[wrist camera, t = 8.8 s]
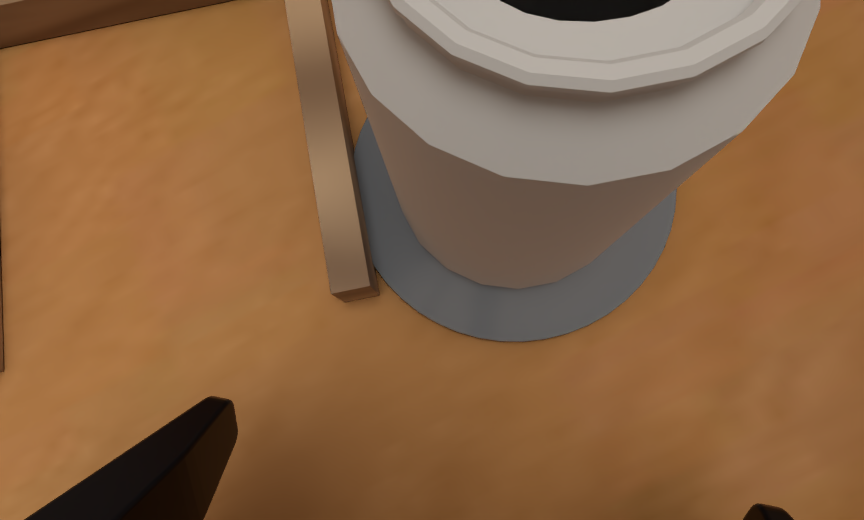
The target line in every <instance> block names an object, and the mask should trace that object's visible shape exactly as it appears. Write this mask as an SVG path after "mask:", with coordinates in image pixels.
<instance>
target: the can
mask: <svg viewBox="0 0 864 520" xmlns="http://www.w3.org/2000/svg"><path fill="white" fill-rule="evenodd" d="M332 5H333V11H334V17H335V24H336V30H337V35H338V37H339V40H340V43H341V45H342V48H343V51H344V54H345V56H346V59H347V62H348V65H349V67H350V70H351V73H352V75H353V78H354V81H355V84H356V86H357V89H358V92H359V95H360V97H361V100H362V103H363V105H364V108H365V111H366V114H367V116H368V119H369V122H370V125H371V127H372V130H373V133H374V135H375V138H376V141H377V144H378V146H379V149H380V152H381V155H382V157H383V160H384V163H385V165H386V168H387V171H388V174H389V176H390V179H391V182H392V185H393V187H394V190H395V193H396V196H397V198H398V201H399V204H400V206H401V209H402V212H403V214H404V216H405V218H406V219H407V221H408V223H409V225H410V227H411V228H412V230H413V232H414V234H415V236H416V238H417V239H418V241H419V243H420V244H421V245H422V246H423V247H424V248H425V249H426V250H427V251H428V252H429V253H430V254H432V255H433V256H434V257H435V258H436V259H437V260H438V261H439V262H440V263H441V264H442V265H443V266H445V267H446V268H447V269H449V270H451V271H453V272H455V273H458V274H460V275H462V276H464V277H466V278H468V279H471V280H473V281H475V282H477V283H479V284H483V285H491V286H499V287H507V288H515V289H521V288H527V287H532V286H537V285H543V284H548V283H553V282H557V281H559V280H561V279H563V278H564V277H566V276H568V275H570V274H572V273H574V272H575V271H577V270H579V269H581V268H583V267H584V266H586V265H588V264H590V263H591V262H592V261H593V260H594V259H595V258H597V257H598V256H599V255H600V254H601V253H602V252H604V251H605V250H606V249H607V248H608V247H609V246H610V245H612V244H613V243H614V242H615V241H616V240H617V239H619V238H620V237H621V236H622V235H623V234H624V233H625V232H627V231H628V230H629V229H630V228H631V227H632V226H634V225H635V224H636V223H637V222H638V221H639V220H640V219H642V218H643V217H644V216H645V215H646V214H647V213H649V212H650V211H651V210H652V209H653V208H654V207H655V206H657V205H658V204H659V203H660V202H661V201H662V200H664V199H665V198H666V197H667V196H668V195H669V194H670V193H672V192H673V191H674V190H675V189H676V188H677V187H679V186H680V185H681V184H682V183H683V182H684V181H685V180H687V179H688V178H689V177H690V176H691V175H692V174H694V173H695V172H696V171H697V170H698V169H699V168H700V167H702V166H703V165H704V164H705V163H706V162H707V161H709V160H710V159H711V158H712V157H713V156H714V155H715V154H717V153H718V152H719V151H720V150H721V149H722V148H724V147H725V146H726V145H727V144H728V143H729V142H731V141H732V140H733V139H734V138H735V137H736V136H737V135H739V134H740V133H741V132H742V131H743V130H744V129H745V128H746V127H747V126H748V125H749V123H750V122H751V121H752V120H753V119H754V118H755V117H756V116H757V115H758V114H759V112H760V111H761V110H762V109H763V108H764V107H765V106H766V105H767V104H768V103H769V101H770V100H771V99H772V98H773V97H774V96H775V95H776V94H777V93H778V92H779V90H780V89H781V88H782V87H783V86H784V85H785V84H786V83H787V82H788V81H789V79H790V78H791V77H792V76H793V75H794V74H795V71H796V68H797V66H798V63H799V61H800V58H801V56H802V53H803V51H804V48H805V45H806V43H807V40H808V38H809V35H810V33H811V30H812V28H813V25H814V22H815V20H816V17H817V15H818V12H819V10H820V0H332Z"/></svg>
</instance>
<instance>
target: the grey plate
mask: <svg viewBox="0 0 864 520" xmlns="http://www.w3.org/2000/svg"><path fill="white" fill-rule="evenodd" d="M354 161H355V166H356V172H357V178H358V183H359V189H360V195H361V200H362V206H363V212H364V217H365V223H366V229H367V234H368V240H369V246H370V251H371V257H372V263H373V265H374V266H375V268H376V269H377V271H378V272H379V273H380V275H381V276H382V277H383V279H384V280H385V281H386V283H387V284H388V285H389V286H390V287H391V288H392V289H393V290H394V291H395V292H396V293H397V294H398V295H399V297H400V298H401V299H402V300H404V301H405V302H406V303H407V304H409V305H410V306H411V307H412V308H414V309H415V310H416V311H418V312H419V313H420V314H422V315H424V316H425V317H427V318H429V319H430V320H432V321H434V322H435V323H437V324H439V325H442V326H444V327H446V328H449V329H451V330H453V331H455V332H458V333H462V334H465V335H469V336H472V337H476V338H480V339H486V340H493V341H500V342H526V341H535V340H543V339H548V338H552V337H556V336H560V335H564V334H567V333H570V332H572V331H575V330H577V329H580V328H582V327H585V326H587V325H589V324H591V323H593V322H595V321H596V320H598V319H600V318H602V317H603V316H605V315H607V314H609V313H610V312H611V311H613V310H614V309H615V308H616V307H618V306H619V305H620V304H622V303H623V302H624V301H626V300H627V299H628V298H629V297H630V296H631V294H632V293H633V292H634V291H635V290H636V289H637V288H638V287H639V286H640V285H641V284H642V283H643V281H644V280H645V279H646V277H647V276H648V275H649V273H650V272H651V271H652V269H653V268H654V266H655V264H656V262H657V261H658V259H659V257H660V255H661V253H662V251H663V249H664V247H665V244H666V241H667V239H668V236H669V233H670V231H671V227H672V222H673V217H674V212H675V205H676V190H677V188H676V189H675V190H674V191H673V192H672V193H670V194H669V195H668V196H667V197H666V198H665V199H664V200H662V201H661V202H660V203H659V204H658V205H657V206H655V207H654V208H653V209H652V210H651V211H650V212H649V213H647V214H646V215H645V216H644V217H643V218H642V219H640V220H639V221H638V222H637V223H636V224H635V225H634V226H632V227H631V228H630V229H629V230H628V231H627V232H625V233H624V234H623V235H622V236H621V237H620V238H619V239H617V240H616V241H615V242H614V243H613V244H612V245H610V246H609V247H608V248H607V249H606V250H605V251H604V252H602V253H601V254H600V255H599V256H598V257H597V258H595V259H594V260H593V261H592V262H591V263H590V264H588V265H586V266H584V267H583V268H581V269H579V270H577V271H575V272H574V273H572V274H570V275H568V276H566V277H564V278H563V279H561V280H559V281H557V282H553V283H548V284H543V285H537V286H532V287H527V288H521V289H515V288H507V287H499V286H491V285H483V284H479V283H477V282H475V281H473V280H471V279H468V278H466V277H464V276H462V275H460V274H458V273H455V272H453V271H451V270H449V269H447V268H446V267H445V266H443V265H442V264H441V263H440V262H439V261H438V260H437V259H436V258H435V257H434V256H433V255H432V254H430V253H429V252H428V251H427V250H426V249H425V248H424V247H423V246H422V245H421V244H420V243H419V241H418V239H417V238H416V236H415V234H414V232H413V230H412V228H411V227H410V225H409V223H408V221H407V219H406V218H405V216H404V214H403V212H402V209H401V206H400V204H399V201H398V198H397V196H396V193H395V190H394V187H393V185H392V182H391V179H390V176H389V174H388V171H387V168H386V165H385V163H384V160H383V157H382V155H381V152H380V149H379V146H378V144H377V141H376V138H375V135H374V133H373V130H372V127H371V125H370V122H369V119H368V117H367V119H366V121H365V123H364V125H363V127H362V130H361V132H360V135H359V138H358V141H357V144H356V147H355V151H354Z"/></svg>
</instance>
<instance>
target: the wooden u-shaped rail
mask: <svg viewBox="0 0 864 520" xmlns="http://www.w3.org/2000/svg"><path fill="white" fill-rule="evenodd" d="M226 1H231V0H0V48H5V47H9V46H14V45H19V44H24V43H29V42H34V41H38V40H43V39H48V38H53V37H58V36H62V35H67V34H72V33H77V32H82V31H87V30H91V29H96V28H101V27H106V26H111V25H115V24H120V23H125V22H130V21H135V20H140V19H144V18H149V17H154V16H159V15H164V14H169V13H173V12H178V11H183V10H188V9H193V8H197V7H202V6H207V5H212V4H217V3H222V2H226ZM285 6H286V12H287V18H288V25H289V31H290V37H291V44H292V50H293V56H294V63H295V69H296V75H297V82H298V88H299V94H300V101H301V107H302V113H303V120H304V126H305V132H306V139H307V145H308V151H309V158H310V164H311V170H312V177H313V183H314V189H315V196H316V202H317V208H318V215H319V221H320V227H321V234H322V240H323V246H324V253H325V259H326V265H327V272H328V278H329V284H330V291H331V294H332V295H334V296H335V297H337V298H339V299H340V300H342V301H344V302H348V301H353V300H358V299H363V298H368V297H373V296H378V295H380V294H379V289H378V283H377V277H376V272H375V266H374V265H373V263H372V257H371V251H370V246H369V240H368V234H367V229H366V223H365V217H364V212H363V206H362V200H361V195H360V189H359V183H358V178H357V172H356V166H355V161H354V147H353V142H352V136H351V130H350V125H349V119H348V114H347V108H346V102H345V97H344V91H343V85H342V80H341V74H340V68H339V63H338V57H337V51H336V46H335V40H334V34H333V29H332V23H331V18H330V12H329V6H328V1H327V0H285ZM2 371H4V366H3V330H2V294H1V258H0V372H2Z"/></svg>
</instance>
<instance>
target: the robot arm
mask: <svg viewBox="0 0 864 520" xmlns="http://www.w3.org/2000/svg"><path fill="white" fill-rule="evenodd" d="M237 435H238V428H237V422H236V415H235V409H234V404H233V402H232V401H231V400H229V399H225V398H220V397H215V396H210V397H207V398H205V399H204V400H202V401H201V402H199V403H198V404H196V405H195V406H193V407H192V408H190V409H189V410H187V411H186V412H184V413H183V414H181V415H180V416H178V417H177V418H175V419H174V420H172V421H171V422H169V423H168V424H166V425H165V426H163V427H162V428H160V429H159V430H157V431H156V432H154V433H153V434H151V435H150V436H148V437H147V438H145V439H144V440H142V441H141V442H139V443H138V444H136V445H135V446H133V447H132V448H130V449H129V450H127V451H126V452H124V453H123V454H121V455H120V456H118V457H117V458H115V459H114V460H113V461H111V462H110V463H108V464H107V465H105V466H104V467H102V468H101V469H99V470H98V471H96V472H95V473H93V474H92V475H90V476H89V477H87V478H86V479H84V480H83V481H81V482H80V483H78V484H77V485H75V486H74V487H72V488H71V489H69V490H68V491H66V492H65V493H63V494H62V495H60V496H59V497H57V498H56V499H54V500H53V501H51V502H50V503H48V504H47V505H45V506H44V507H42V508H41V509H39V510H38V511H36V512H35V513H33V514H32V515H30V516H29V517H27V518H26V519H24V520H203V519H204V517H205V515H206V513H207V510H208V508H209V506H210V503H211V501H212V498H213V496H214V494H215V491H216V489H217V486H218V484H219V481H220V479H221V477H222V474H223V472H224V469H225V467H226V465H227V462H228V460H229V457H230V455H231V452H232V450H233V448H234V445H235V443H236V439H237ZM743 520H794V519H793V518H792V517H791V516H790V515H789V514H788V513H787V512H786V511H785V510H783V509H781V508H779V507H775V506H770V505H765V504H755V505H753V506H752V507H751V508H750V510H749V511H748V513H747V514H746V515H745V517H744V518H743Z"/></svg>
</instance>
